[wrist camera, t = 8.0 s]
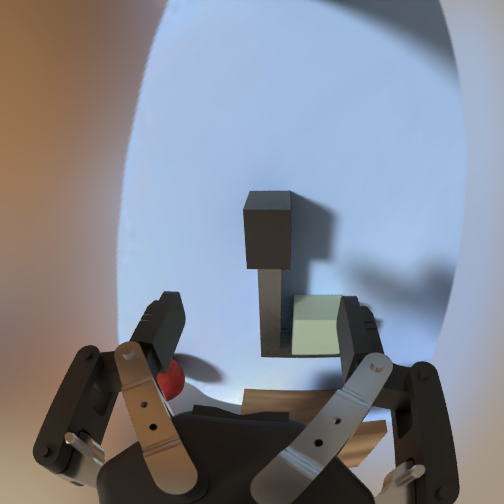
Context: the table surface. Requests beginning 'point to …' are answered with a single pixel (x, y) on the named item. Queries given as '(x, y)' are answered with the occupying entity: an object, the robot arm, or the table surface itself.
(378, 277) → the table surface
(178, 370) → the red rounded piece
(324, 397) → the walnut shelf
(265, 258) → the mallet
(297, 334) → the block
